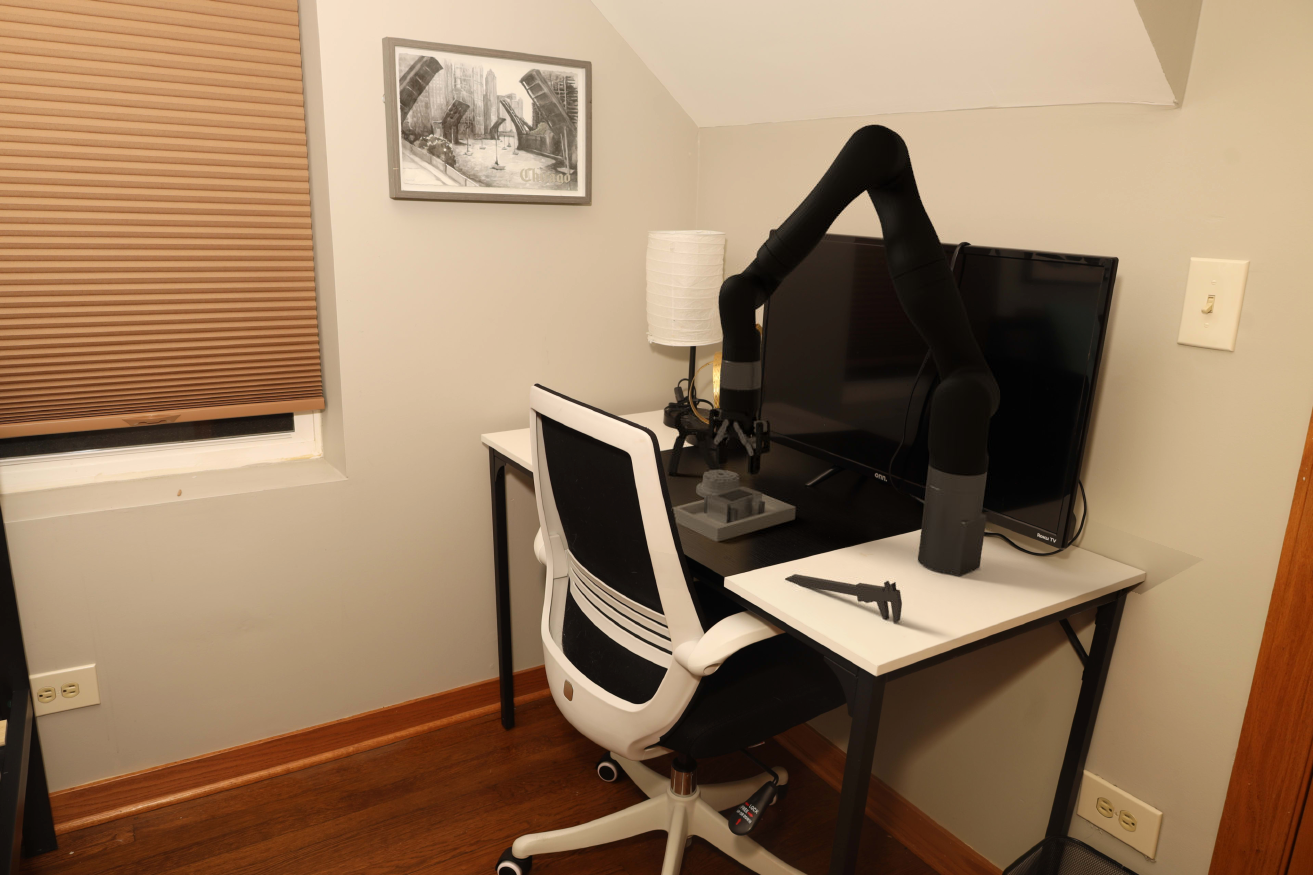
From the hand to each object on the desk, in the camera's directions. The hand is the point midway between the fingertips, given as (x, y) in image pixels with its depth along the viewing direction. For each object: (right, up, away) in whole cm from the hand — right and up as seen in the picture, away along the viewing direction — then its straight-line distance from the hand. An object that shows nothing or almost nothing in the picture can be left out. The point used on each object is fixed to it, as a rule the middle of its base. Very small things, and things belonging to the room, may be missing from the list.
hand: (737, 468), depth 163 cm
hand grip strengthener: (-6, -3, +28) cm, 29 cm away
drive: (0, -9, +3) cm, 9 cm away
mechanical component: (-2, -6, +18) cm, 19 cm away
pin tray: (0, -10, +3) cm, 10 cm away
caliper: (+13, -20, -29) cm, 37 cm away
